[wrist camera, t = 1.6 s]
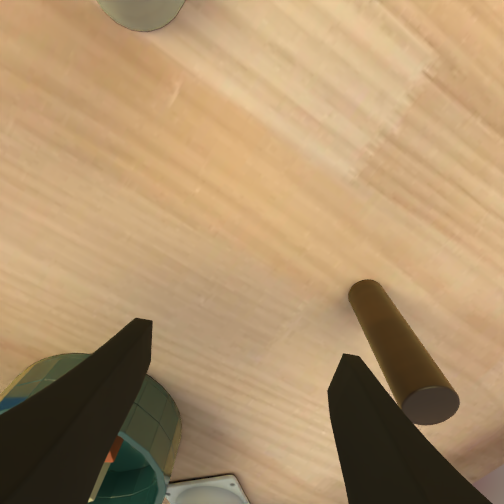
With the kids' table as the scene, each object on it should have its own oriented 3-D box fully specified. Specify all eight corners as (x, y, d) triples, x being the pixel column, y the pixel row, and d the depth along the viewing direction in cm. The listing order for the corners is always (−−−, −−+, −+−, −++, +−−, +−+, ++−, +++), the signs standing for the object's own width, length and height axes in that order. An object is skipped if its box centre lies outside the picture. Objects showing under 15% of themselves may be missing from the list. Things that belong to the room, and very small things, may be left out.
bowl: (206, 456, 29) (195, 519, 24) (71, 478, 31) (38, 540, 27) (136, 335, 23) (105, 388, 19) (-23, 373, 26) (-86, 429, 21)
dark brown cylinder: (385, 304, 21) (461, 421, 13) (351, 311, 22) (404, 430, 13) (380, 275, 20) (459, 381, 12) (345, 284, 21) (398, 392, 12)
